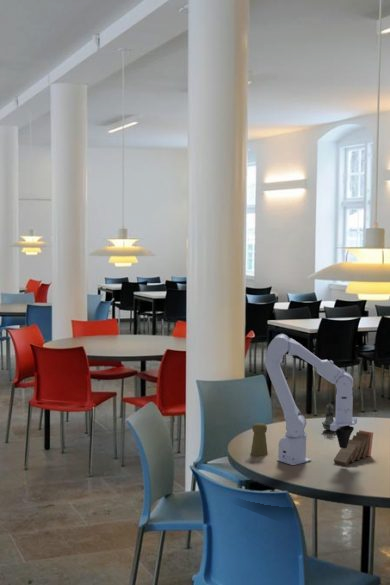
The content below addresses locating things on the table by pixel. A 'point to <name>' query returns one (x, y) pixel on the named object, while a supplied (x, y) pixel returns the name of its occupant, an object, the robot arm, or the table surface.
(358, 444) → the tile
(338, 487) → the table surface
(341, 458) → the tile
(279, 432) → the table surface
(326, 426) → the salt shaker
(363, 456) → the tile
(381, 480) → the table surface
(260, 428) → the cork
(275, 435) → the table surface
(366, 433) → the tile
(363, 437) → the tile
